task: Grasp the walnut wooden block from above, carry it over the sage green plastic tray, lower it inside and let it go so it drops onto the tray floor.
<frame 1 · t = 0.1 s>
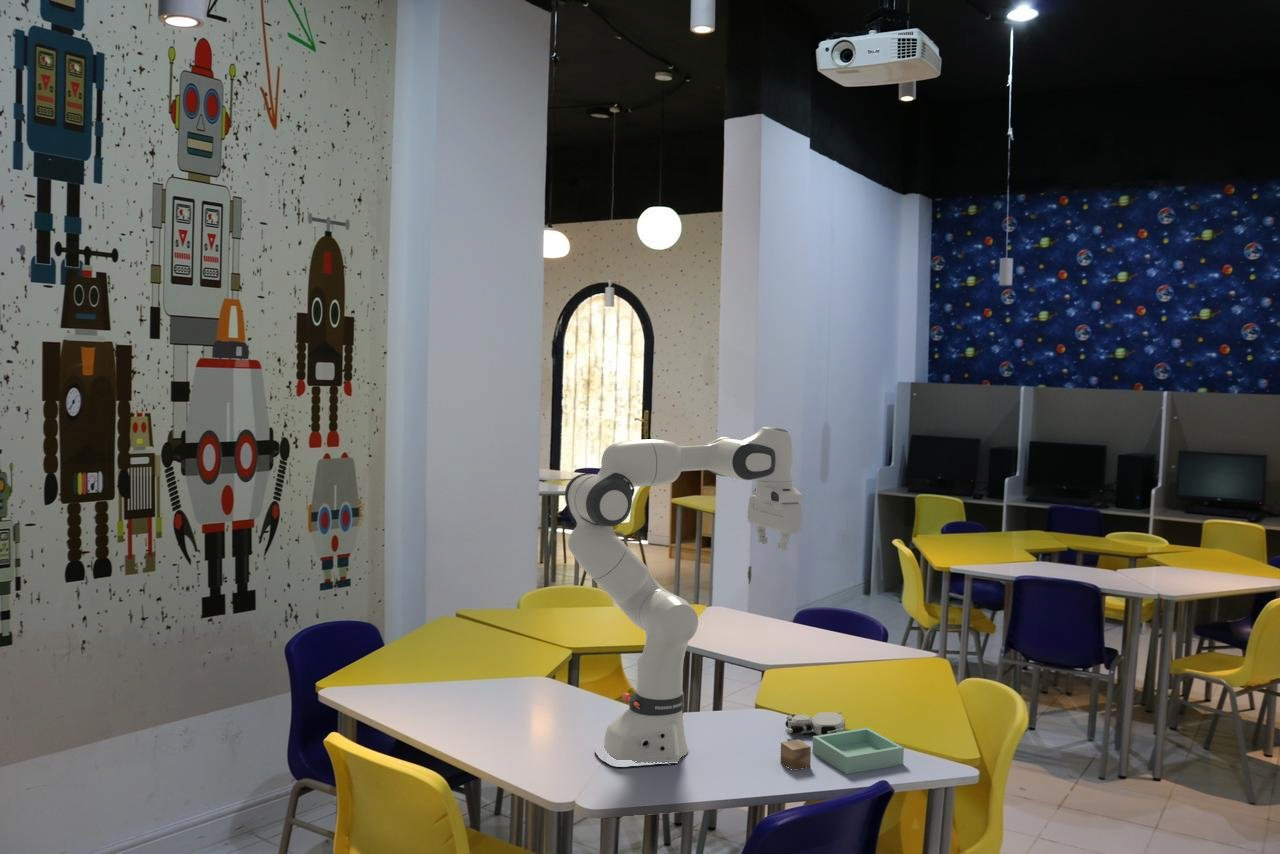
hand: (772, 546, 254), 48 cm above the table, tool pointing down, fingers open, 8 cm apart
tray: (857, 758, 242), on the table
robot toy: (815, 734, 258), on the table
block: (795, 765, 237), on the table
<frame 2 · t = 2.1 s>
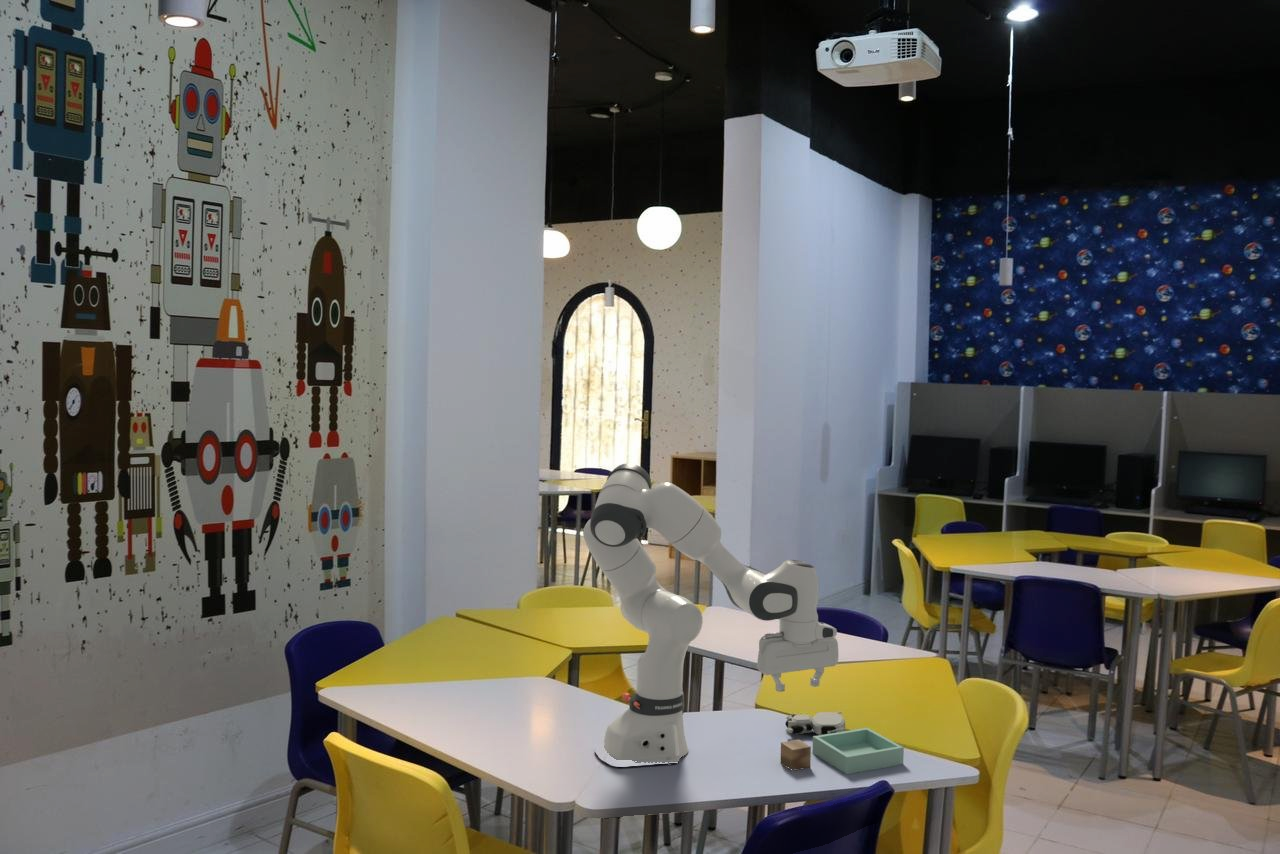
hand: (797, 688, 236), 18 cm above the table, tool pointing down, fingers open, 8 cm apart
nothing on the table moved.
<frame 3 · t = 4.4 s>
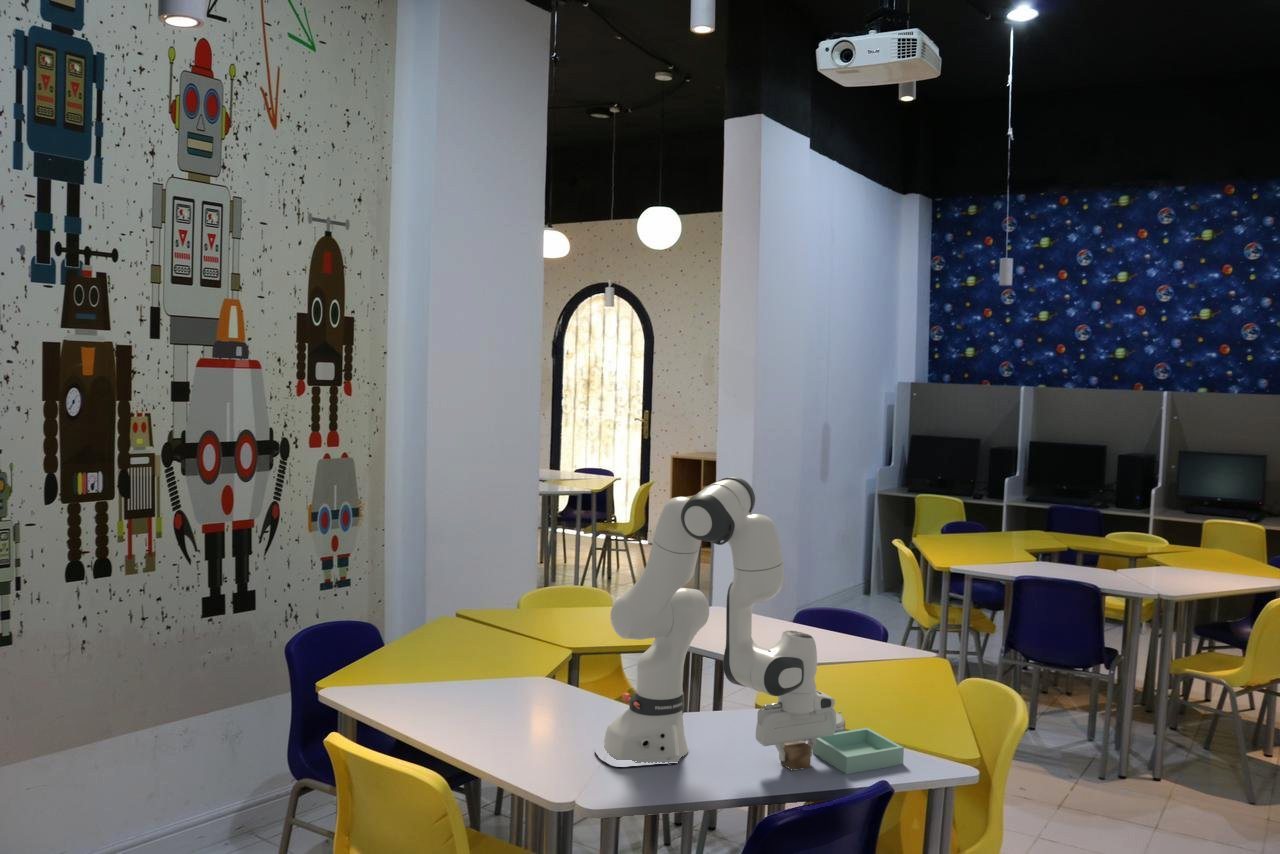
hand: (795, 758, 237), 2 cm above the table, tool pointing down, fingers closed on block, 5 cm apart
block: (795, 765, 237), on the table, touching gripper
everything else where it was.
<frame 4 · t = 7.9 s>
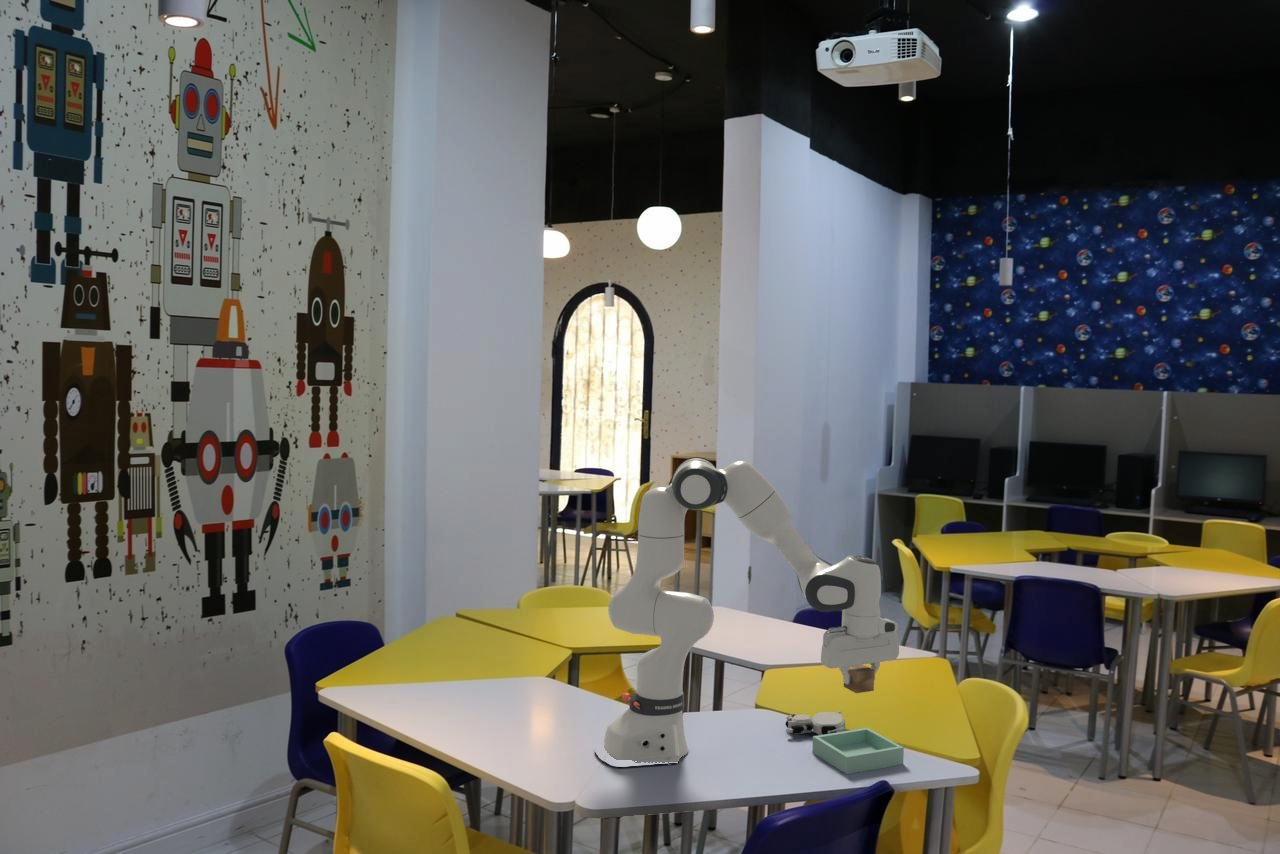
hand: (859, 681, 240), 19 cm above the table, tool pointing down, fingers closed on block, 5 cm apart
block: (858, 688, 241), point 17 cm above the table, touching gripper
everything else where it was.
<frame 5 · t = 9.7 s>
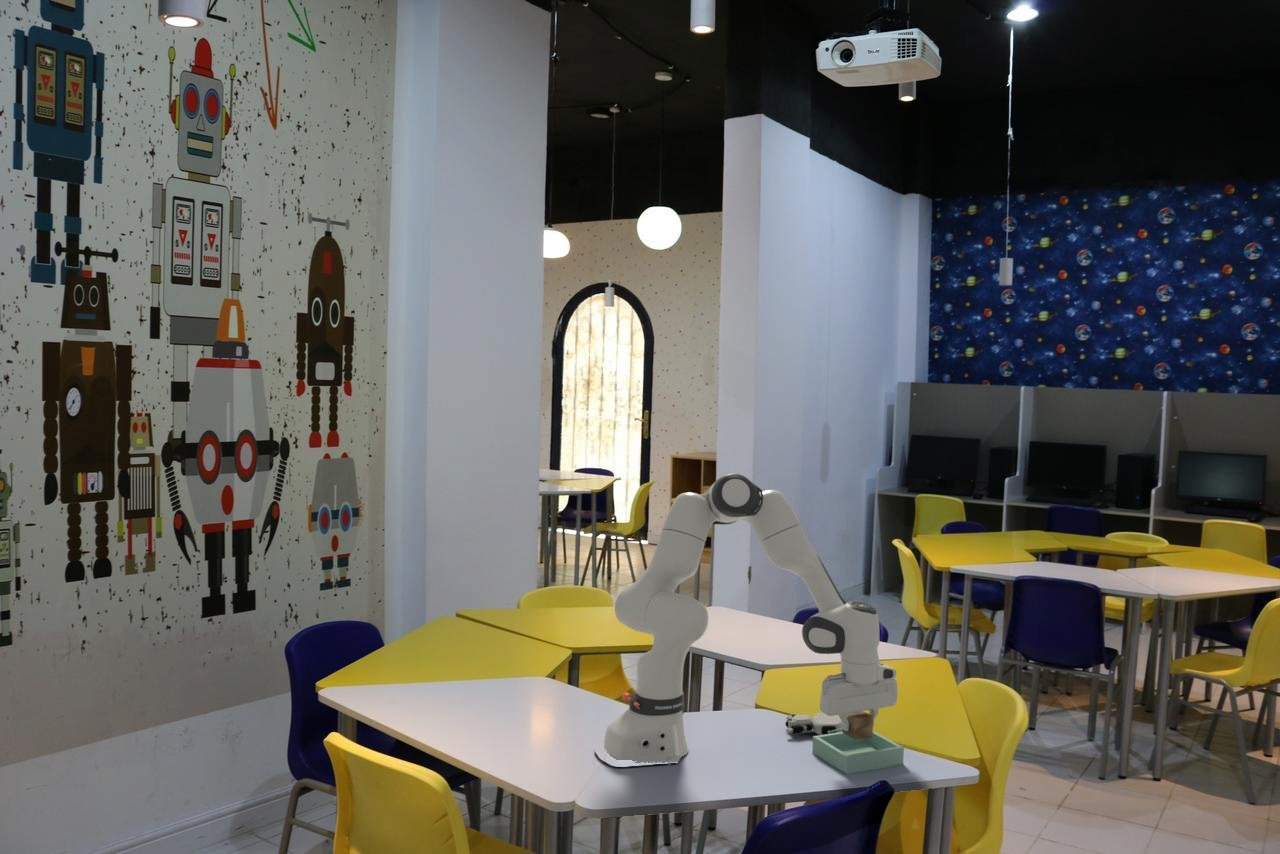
hand: (858, 728, 242), 7 cm above the table, tool pointing down, fingers closed on block, 5 cm apart
block: (857, 734, 242), point 5 cm above the table, touching gripper
everything else where it was.
when the fingers open (5 cm above the table, at t = 11.1 s): block drops 3 cm, resting on tray.
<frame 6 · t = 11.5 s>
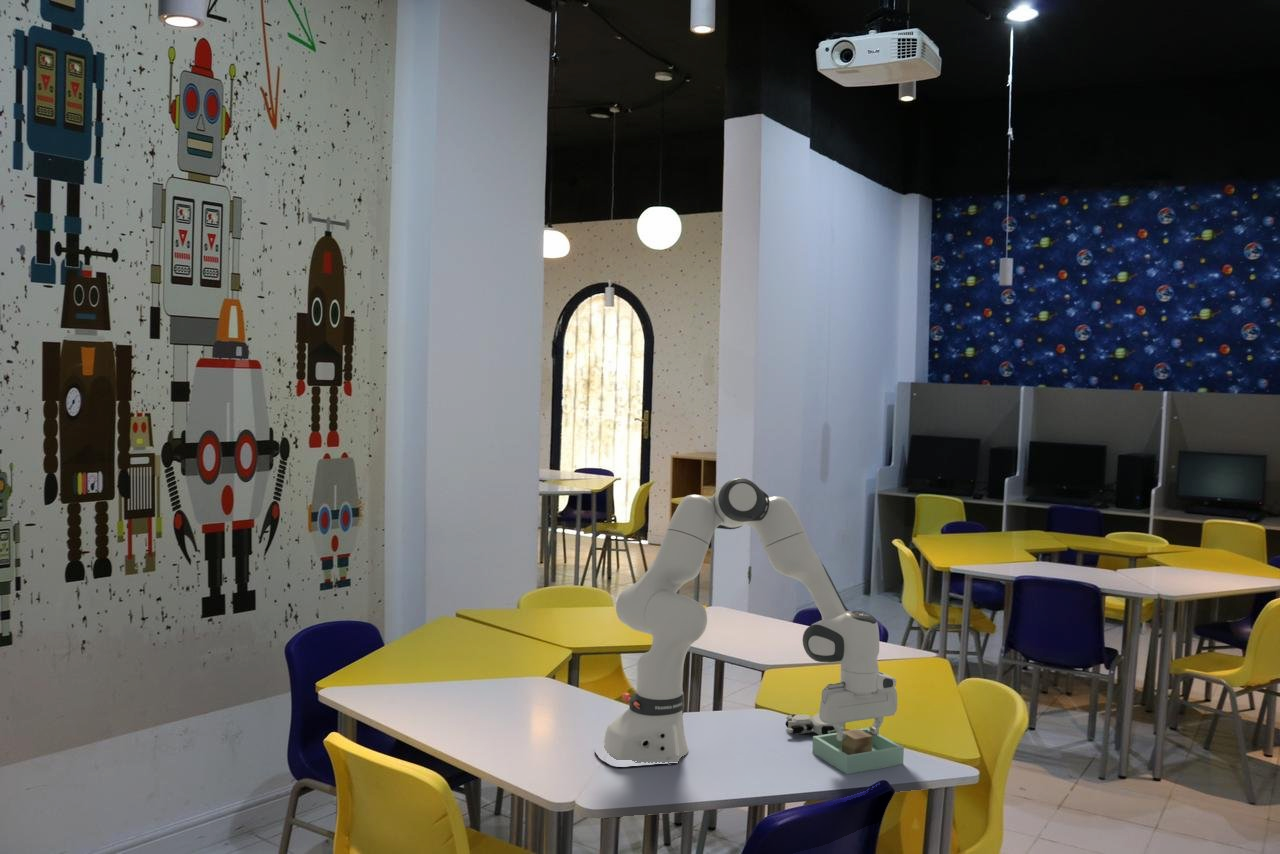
hand: (857, 737, 241), 5 cm above the table, tool pointing down, fingers open, 8 cm apart
block: (856, 754, 242), point 1 cm above the table, touching tray
everything else where it was.
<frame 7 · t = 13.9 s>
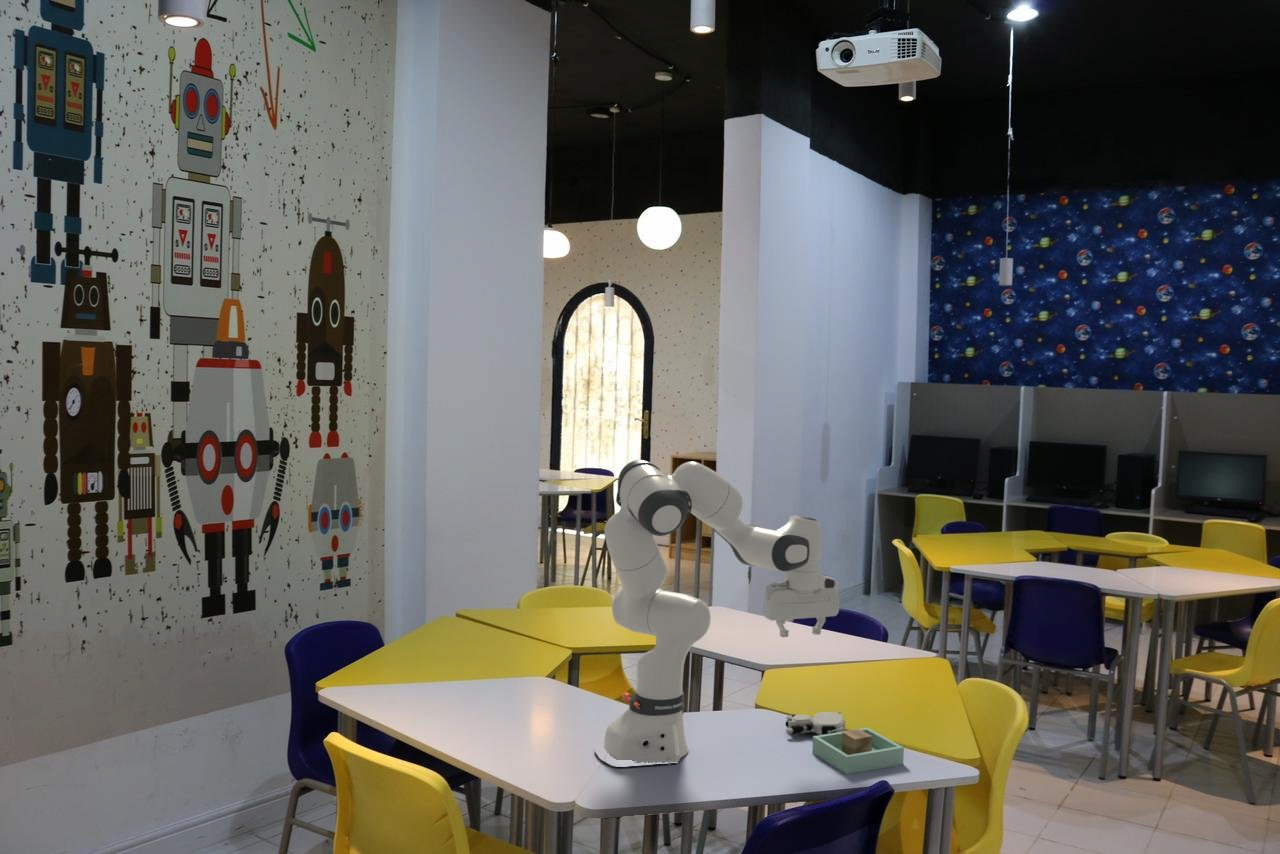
hand: (800, 635, 253), 26 cm above the table, tool pointing down, fingers open, 8 cm apart
nothing on the table moved.
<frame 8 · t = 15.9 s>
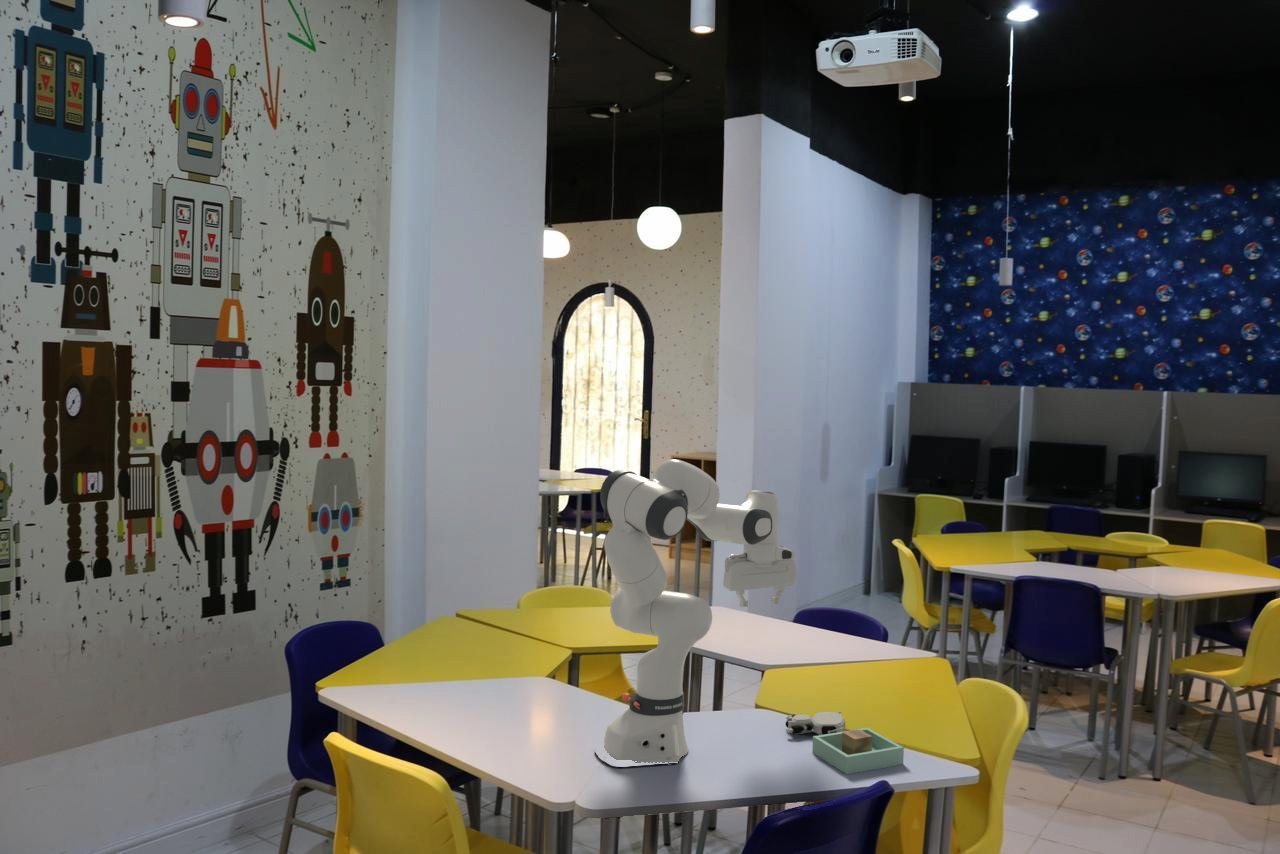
hand: (759, 605, 263), 31 cm above the table, tool pointing down, fingers open, 8 cm apart
nothing on the table moved.
at the end: block inside the target area on the tray (0.2 cm from its centre), point 0.8 cm above the tray's base; the gripper is holding nothing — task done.
